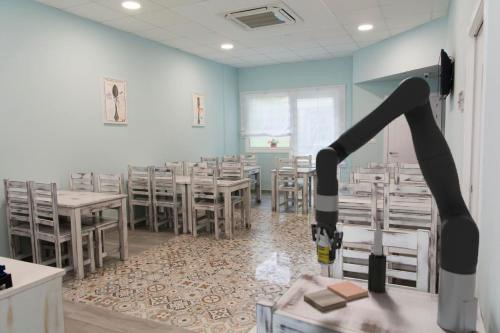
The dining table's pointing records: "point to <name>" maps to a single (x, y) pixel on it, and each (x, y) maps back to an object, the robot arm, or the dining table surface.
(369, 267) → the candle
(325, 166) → the robot arm
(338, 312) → the dining table surface
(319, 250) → the supplement bottle
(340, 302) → the walnut mat
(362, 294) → the terracotta tile
